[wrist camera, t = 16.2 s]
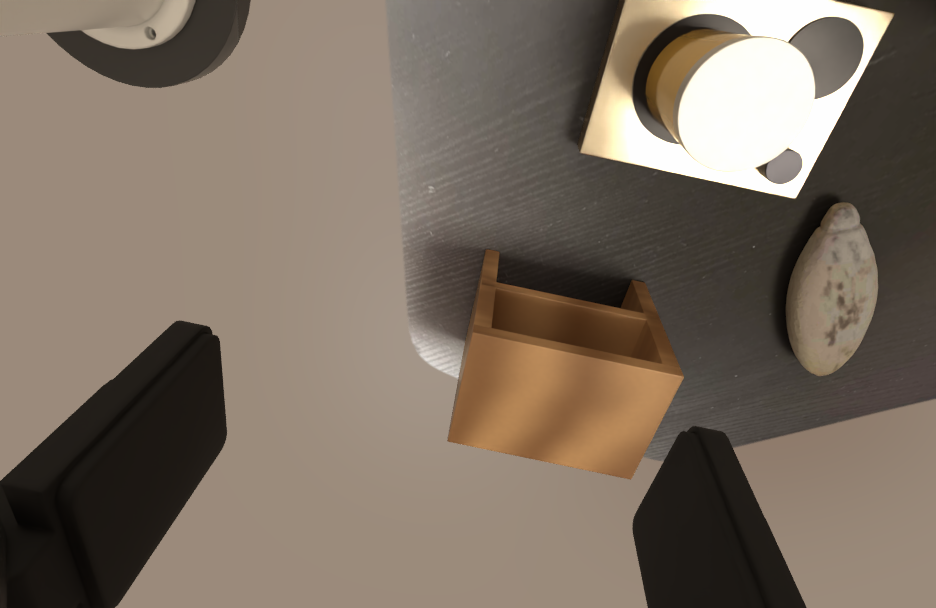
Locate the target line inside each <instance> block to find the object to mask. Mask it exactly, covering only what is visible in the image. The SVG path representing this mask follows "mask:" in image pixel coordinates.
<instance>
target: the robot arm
mask: <svg viewBox="0 0 936 608" xmlns="http://www.w3.org/2000/svg"><path fill="white" fill-rule="evenodd" d="M195 1H196V0H0V36H11V35H23V34H38V33H51V32H64V31H77V30H81V31H83V32H84V33H85V34H87V35H89V36H90V37H92V38H94V39H96V40H98V41H100V42H102V43H105V44H108V45H111V46H114V47H118V48H125V49H143V48H150V47H154V46H158V45H161V44H163V43H165V42H167V41H169V40H170V39H172V38H173V37H174V36H175V35H177V34H178V33H179V32H180V31H181V30H182V29H183V27H184V26H185V24H186V22H187V21H188V19H189V18H190V16H191V13H192V10H193V7H194V4H195ZM155 33H156V34H155ZM226 436H227V427H226V414H225V401H224V390H223V376H222V364H221V351H220V341H219V338H218V336H215V335H213V334H212V330H211V329H210V327H208V326H204V325H199V324H194V323H190V322H184V321H176V322H175V323H173V324H172V325H171V326H170V327H169V328H168V329H167V330H165V331H164V332H163V333H162V334H161V335H160V336H159V337H158V338H157V339H156V340H155V341H154V342H153V343H152V344H150V345H149V346H148V347H147V348H146V349H145V350H144V351H143V352H142V353H141V354H140V355H139V356H138V357H137V358H135V359H134V360H133V361H132V362H131V363H130V364H129V365H128V366H127V367H126V368H125V369H124V370H123V371H122V372H120V373H119V374H118V375H117V376H116V377H115V378H114V379H113V380H110V381H109V382H108V383H106V384H105V385H103V386H102V387H101V388H100V389H99V390H98V391H97V392H96V393H95V394H94V395H93V396H92V397H91V398H89V399H88V400H87V401H86V402H85V403H84V404H83V405H82V406H81V407H80V408H79V409H78V410H76V412H74V413H73V414H72V415H71V416H70V417H69V418H68V419H67V420H66V421H65V422H64V423H62V424H61V425H60V426H59V427H58V428H57V429H56V430H55V431H54V432H53V433H52V434H51V435H49V437H47V438H46V439H45V440H44V441H43V442H42V443H41V444H40V445H39V446H38V447H37V448H35V449H34V450H33V452H31V453H30V454H29V455H28V456H27V457H26V458H25V459H24V460H23V461H21V462H20V463H19V464H18V465H17V466H16V467H15V468H14V469H13V470H12V471H11V472H10V473H9V474H7V475H6V476H5V477H4V478H3V479H2V480H1V481H0V608H115V607H116V606H117V605H118V604H119V602H120V601H121V600H122V598H123V597H124V595H125V594H126V592H127V591H128V589H129V588H130V586H131V585H132V583H133V582H134V580H135V579H136V577H137V576H138V574H139V573H140V571H141V570H142V568H143V567H144V565H145V564H146V562H147V561H148V559H149V558H150V556H151V555H152V553H153V552H154V550H155V549H156V547H157V546H158V544H159V543H160V541H161V540H162V538H163V537H164V535H165V534H166V532H167V531H168V529H169V528H170V526H171V525H172V523H173V522H174V520H175V519H176V517H177V516H178V514H179V513H180V511H181V510H182V508H183V507H184V505H185V504H186V502H187V501H188V499H189V498H190V496H191V495H192V493H193V492H194V490H195V489H196V487H197V486H198V484H199V483H200V481H201V480H202V478H203V477H204V475H205V474H206V472H207V471H208V469H209V468H210V466H211V465H212V463H213V462H214V460H215V459H216V457H217V456H218V454H219V453H220V451H221V450H222V448H223V446H224V443H225V440H226ZM633 535H634V541H635V546H636V551H637V556H638V561H639V566H640V570H641V576H642V580H643V585H644V591H645V596H646V600H647V606H648V608H806V606H805V603H804V601H803V599H802V597H801V595H800V593H799V590H798V588H797V586H796V584H795V582H794V580H793V577H792V575H791V573H790V571H789V569H788V566H787V564H786V562H785V560H784V558H783V556H782V553H781V551H780V549H779V547H778V545H777V543H776V541H775V538H774V536H773V534H772V532H771V529H770V527H769V525H768V523H767V521H766V519H765V517H764V515H763V513H762V511H761V509H760V507H759V504H758V502H757V500H756V498H755V496H754V493H753V491H752V489H751V487H750V485H749V483H748V480H747V478H746V476H745V474H744V472H743V470H742V467H741V465H740V463H739V461H738V459H737V457H736V454H735V452H734V450H733V448H732V446H731V443H730V441H729V439H728V437H727V436H726V434H725V433H723V432H721V431H716V430H712V429H707V428H702V427H697V426H693V427H691V428H690V429H689V430H688V431H687V432H685V431H682V432H681V433H680V434H679V435H678V437H677V438H676V440H675V442H674V444H673V446H672V448H671V449H670V451H669V453H668V455H667V457H666V459H665V460H664V462H663V464H662V466H661V468H660V470H659V472H658V473H657V475H656V477H655V479H654V481H653V483H652V484H651V486H650V488H649V490H648V492H647V493H646V495H645V497H644V499H643V501H642V503H641V504H640V506H639V508H638V510H637V512H636V514H635V516H634V519H633Z"/></svg>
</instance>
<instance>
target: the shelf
mask: <svg viewBox="0 0 936 608" xmlns="http://www.w3.org/2000/svg"><path fill="white" fill-rule="evenodd" d="M499 253H500V252H498V251H493V250H488V249H486V251H485V256H484V260H483V264H482V269H481V273H480V278H479V282H478V287H477V291H476V296H475V300H474V304H473V309H472V313H471V318H470V322H469V327H468V331H467V336H466V340H465V345H464V351H463V356H462V362H461V368H460V373H459V379H458V384H457V390H456V396H455V401H454V407H453V412H452V418H451V424H450V430H449V435H448V441H449V442H453V443H458V444H463V445H467V446H472V447H477V448H482V449H487V450H491V451H497V452H501V453H506V454H511V455H515V456H520V457H525V458H530V459H535V460H540V461H544V462H549V463H554V464H559V465H564V466H568V467H573V468H578V469H583V470H588V471H592V472H597V473H602V474H608V475H612V476H616V477H621V478H627V479H631V478H632V477H633V475H634V473H635V471H636V469H637V467H638V465H639V463H640V461H641V459H642V457H643V455H644V453H645V452H646V450H647V448H648V446H649V444H650V442H651V440H652V438H653V436H654V434H655V432H656V430H657V428H658V426H659V424H660V422H661V420H662V419H663V417H664V415H665V413H666V411H667V409H668V407H669V405H670V403H671V401H672V399H673V397H674V395H675V393H676V391H677V389H678V387H679V385H680V384H681V382H682V380H683V378H684V376H683V373H682V371H681V369H680V366H679V364H678V362H677V359H676V357H675V354H674V352H673V350H672V347H671V345H670V342H669V340H668V337H667V335H666V333H665V330H664V328H663V325H662V323H661V320H660V318H659V316H658V313H657V311H656V308H655V306H654V303H653V301H652V299H651V296H650V294H649V291H648V289H647V286H646V284H645V283H644V282H639V281H634V280H632V281H631V283H630V286H629V288H628V291H627V293H626V296H625V298H624V301H623V303H622V306H621V308H616V307H611V306H607V305H602V304H597V303H593V302H588V301H583V300H578V299H574V298H569V297H564V296H559V295H555V294H550V293H545V292H541V291H536V290H531V289H526V288H522V287H517V286H512V285H507V284H503V283H498V282H496V281H497V272H498V262H499Z"/></svg>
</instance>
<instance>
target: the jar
mask: <svg viewBox="0 0 936 608" xmlns="http://www.w3.org/2000/svg"><path fill="white" fill-rule="evenodd" d="M815 89H816V86H815V77H814V73H813V70H812V67H811V65H810V63H809V61H808V59H807V58H806V57H805V55H804V54H803V53H802V52H801V51H800V50H799V49H798V48H797V47H795V46H794V45H793V44H791V43H789V42H787V41H785V40H782V39H779V38H775V37H769V36H762V35H744V34H738V33H732V32H727V31H721V30H715V29H700V30H695V31H691V32H688V33H686V34H683V35H681V36H680V37H678V38H676V39H675V40H673V41H672V42H671V43H669V44H668V45H667V46H666V47H665V48H664V49H663V50H662V52H661V53H660V54H659V55H658V57H657V58H656V60H655V61H654V63H653V65H652V67H651V69H650V72H649V74H648V78H647V83H646V101H647V105H648V108H649V110H650V112H651V114H652V116H653V117H654V119H655V120H656V121H657V122H658V123H659V124H660V125H661V126H662V127H663V128H664V129H665V130H666V131H667V132H668V133H669V134H670V135H671V136H672V137H673V138H675V139H676V140H677V141H678V142H679V143H680V145H681V147H682V148H683V149H684V150H685V152H686V153H687V154H688V155H689V156H690V157H691V158H692V159H694V160H695V161H696V162H697V163H699V164H700V165H702V166H704V167H706V168H708V169H711V170H715V171H719V172H742V171H746V170H750V169H753V168H756V167H759V166H761V165H763V164H766V163H768V162H769V161H771V160H773V159H774V158H776V157H777V156H779V155H780V154H781V153H783V152H784V151H785V150H786V149H787V148H788V147H789V146H790V145H791V144H792V143H793V142H794V141H795V140H796V139H797V137H798V136H799V134H800V133H801V132H802V130H803V129H804V127H805V125H806V123H807V121H808V119H809V117H810V115H811V112H812V108H813V105H814V100H815Z"/></svg>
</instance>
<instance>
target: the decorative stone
mask: <svg viewBox="0 0 936 608" xmlns="http://www.w3.org/2000/svg"><path fill="white" fill-rule="evenodd" d="M859 222H860V217H859V214H858V212H857V210H856V208H855V207H854V206H853V205H851V204H850V203H845V202H842V203H837V204H834V205H833V206H831V207H830V209H829V210H828V212H827V213H826V215H825V216H824V218H823V220H822V221H821V226H820V227H819V228H817V229H816V230H815V231H814V233H813V234H812V236H811V237H810V239H809V240H808V242H807V244H806V245H805V247H804V249H803V251H802V253H801V254H800V256H799V258H798V260H797V262H796V264H795V267H794V269H793V272H792V275H791V278H790V282H789V286H788V292H787V301H786V322H787V330H788V336H789V340H790V344H791V346H792V349H793V351H794V354H795V356H796V357H797V359H798V360H799V362H800V363H801V364H802V365H803V367H805V368H806V369H807V370H808V371H810V372H811V373H812V374H815V375H817V376H822V375H828V374H830V373H833V372H834V371H836V370H837V369H839V368H840V367H841V366H842V365H843V364H844V363H845V362H846V361H848V360H849V358H850V357H851V356H852V355H853V354H854V352H855V351H856V349H857V348H858V346H859V345H860V342H861V341H862V339H863V337H864V335H865V333H866V330H867V328H868V326H869V324H870V321H871V319H872V316H873V313H874V309H875V305H876V300H877V293H878V272H877V266H876V262H875V255H874V253H873V250H872V248H871V246H870V243H869V240H868V236H867V234H866V232H865V229H864V227H863V226H862V225H861V224H860V223H859Z"/></svg>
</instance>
